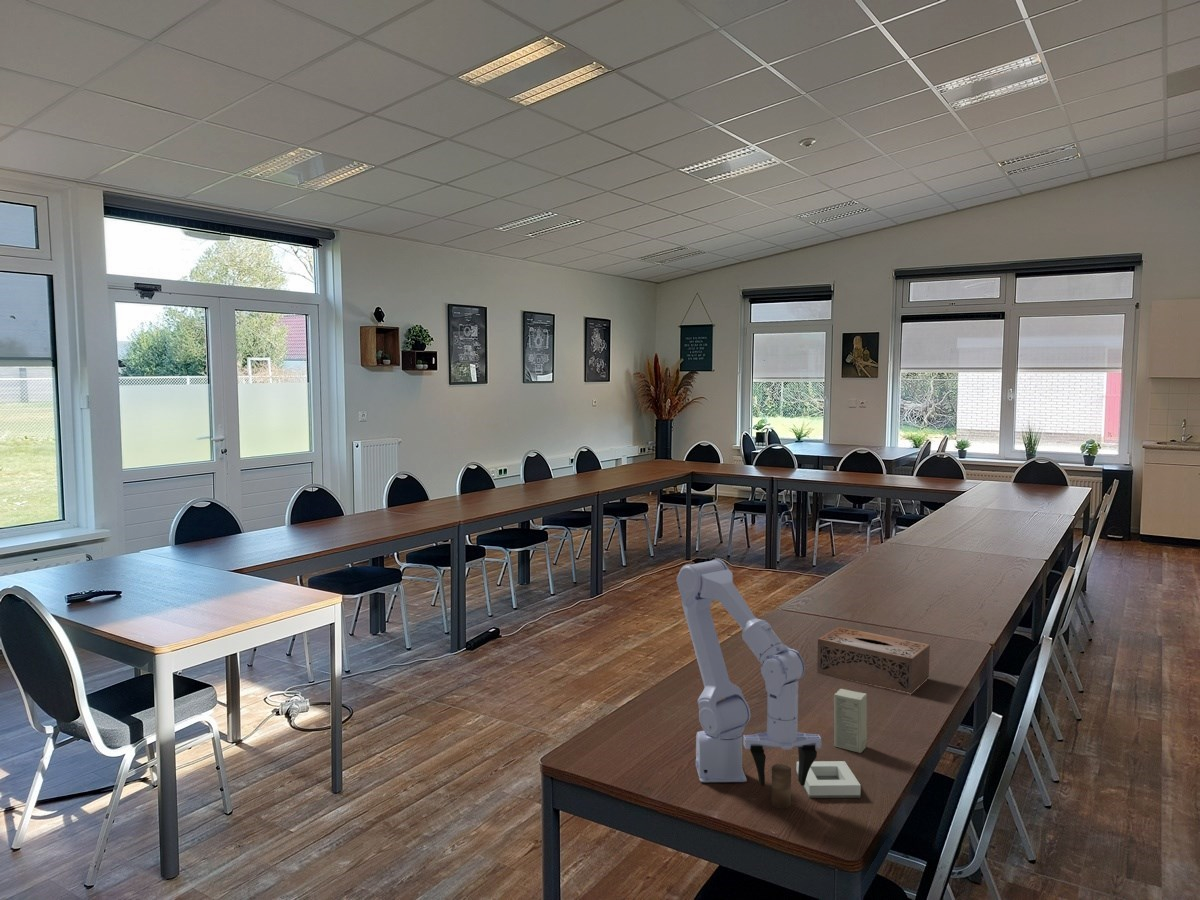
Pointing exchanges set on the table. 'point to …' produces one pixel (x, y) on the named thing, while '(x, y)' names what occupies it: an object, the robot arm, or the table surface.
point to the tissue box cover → (873, 659)
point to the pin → (781, 786)
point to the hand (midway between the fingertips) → (781, 783)
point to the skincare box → (850, 720)
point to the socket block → (831, 780)
